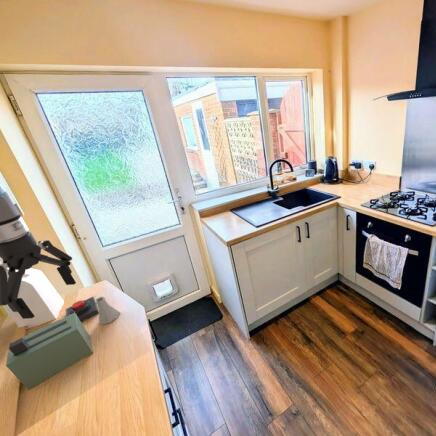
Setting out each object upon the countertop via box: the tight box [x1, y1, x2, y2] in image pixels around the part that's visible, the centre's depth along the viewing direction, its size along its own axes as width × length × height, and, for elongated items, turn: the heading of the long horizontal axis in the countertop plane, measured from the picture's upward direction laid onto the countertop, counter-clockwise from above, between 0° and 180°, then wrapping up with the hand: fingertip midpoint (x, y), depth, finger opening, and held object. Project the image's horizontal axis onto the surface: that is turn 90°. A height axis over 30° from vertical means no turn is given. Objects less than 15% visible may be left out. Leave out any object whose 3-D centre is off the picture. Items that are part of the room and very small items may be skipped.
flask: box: [95, 296, 121, 325], centre depth 100 cm, size 7×7×10 cm
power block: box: [65, 296, 99, 323], centre depth 105 cm, size 12×10×4 cm
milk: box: [3, 267, 65, 330], centre depth 102 cm, size 12×12×26 cm
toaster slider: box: [8, 337, 29, 356], centre depth 75 cm, size 2×3×4 cm
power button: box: [71, 299, 85, 310], centre depth 104 cm, size 4×4×2 cm
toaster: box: [5, 313, 94, 391], centre depth 83 cm, size 11×17×12 cm, turn 133°
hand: (52, 299), depth 73 cm, fingers open, 13 cm apart
